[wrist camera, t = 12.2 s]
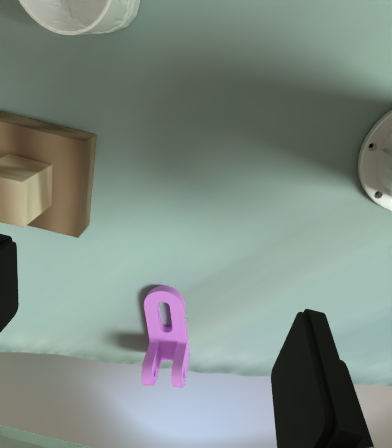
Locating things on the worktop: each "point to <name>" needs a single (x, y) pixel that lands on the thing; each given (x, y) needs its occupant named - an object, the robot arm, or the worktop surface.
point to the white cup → (82, 15)
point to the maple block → (24, 189)
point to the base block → (55, 168)
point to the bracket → (166, 336)
